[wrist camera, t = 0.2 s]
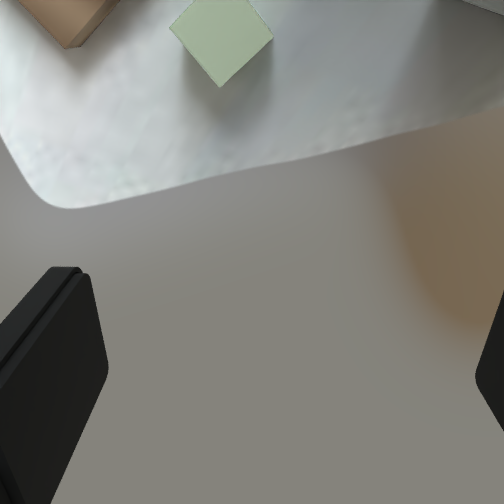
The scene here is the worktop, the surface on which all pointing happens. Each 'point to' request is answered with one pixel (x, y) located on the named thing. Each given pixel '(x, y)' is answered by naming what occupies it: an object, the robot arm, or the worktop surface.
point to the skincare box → (489, 5)
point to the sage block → (221, 35)
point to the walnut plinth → (69, 18)
